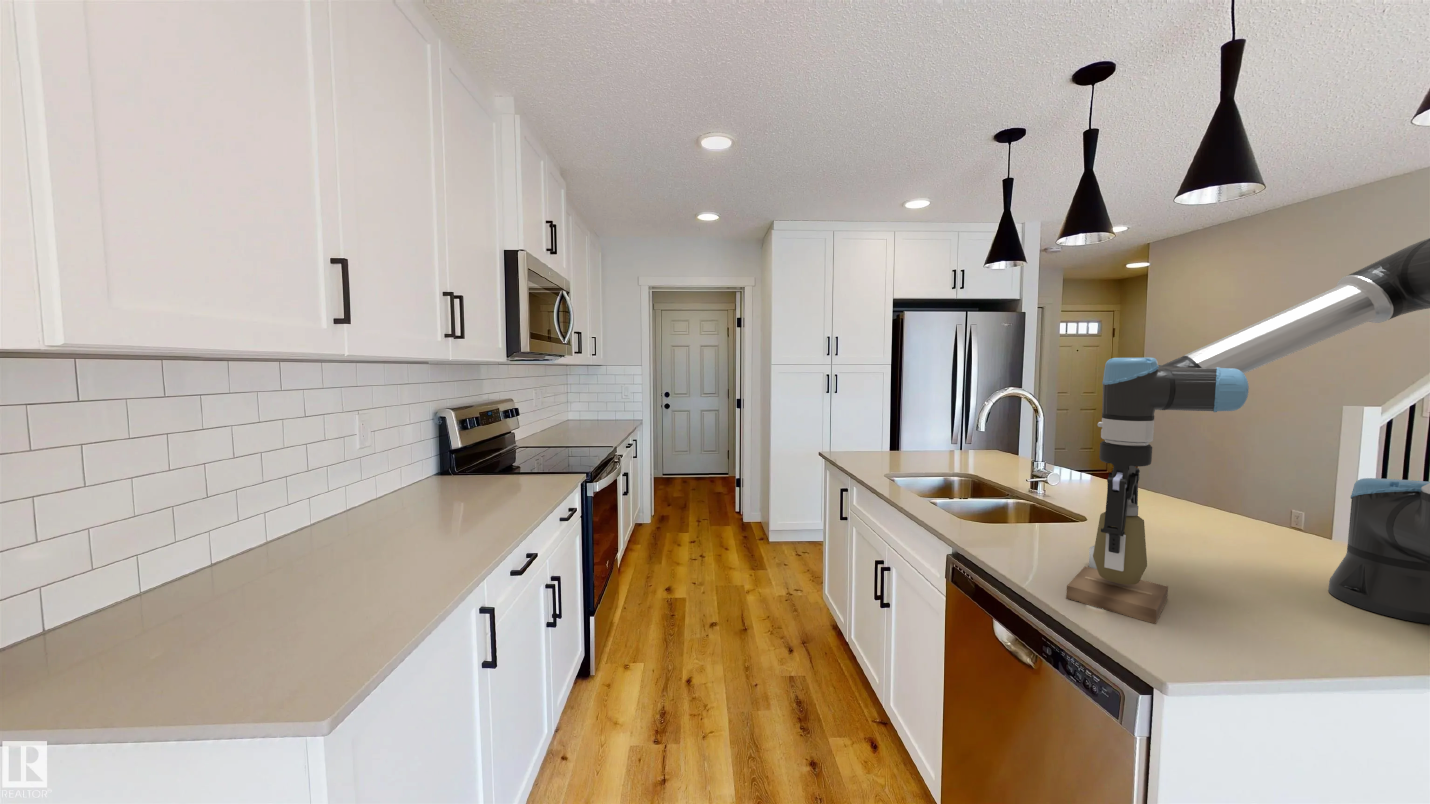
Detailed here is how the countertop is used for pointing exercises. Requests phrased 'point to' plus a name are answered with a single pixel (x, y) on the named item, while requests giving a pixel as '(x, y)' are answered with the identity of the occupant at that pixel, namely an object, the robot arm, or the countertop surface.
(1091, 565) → the white dome cap
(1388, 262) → the robot arm
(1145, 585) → the plate
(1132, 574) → the squeeze bottle
